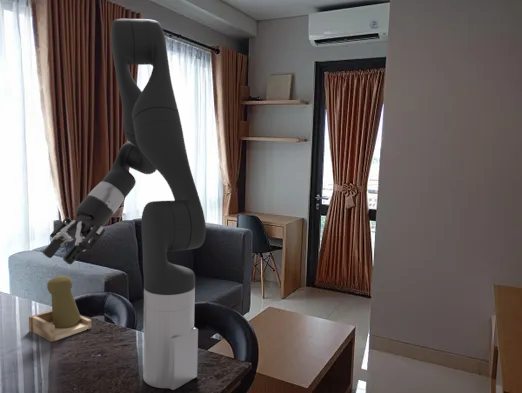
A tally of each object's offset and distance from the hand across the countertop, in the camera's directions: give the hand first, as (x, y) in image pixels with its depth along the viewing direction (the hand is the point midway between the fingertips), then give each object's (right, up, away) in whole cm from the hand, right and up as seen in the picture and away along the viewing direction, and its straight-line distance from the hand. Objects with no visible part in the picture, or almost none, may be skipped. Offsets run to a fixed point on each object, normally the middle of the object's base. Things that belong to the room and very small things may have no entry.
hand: (56, 259), depth 97 cm
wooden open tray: (0, -17, +3) cm, 17 cm away
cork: (+1, -15, +4) cm, 16 cm away
